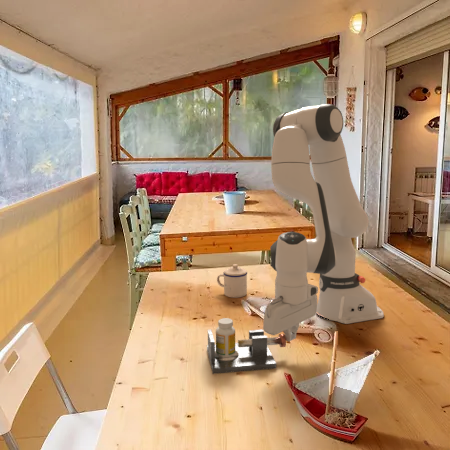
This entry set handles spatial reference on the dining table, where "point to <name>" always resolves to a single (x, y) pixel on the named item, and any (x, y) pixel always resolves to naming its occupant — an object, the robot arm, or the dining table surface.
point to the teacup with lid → (234, 281)
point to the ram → (270, 341)
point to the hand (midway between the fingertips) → (290, 339)
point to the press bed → (242, 355)
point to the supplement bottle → (225, 338)
